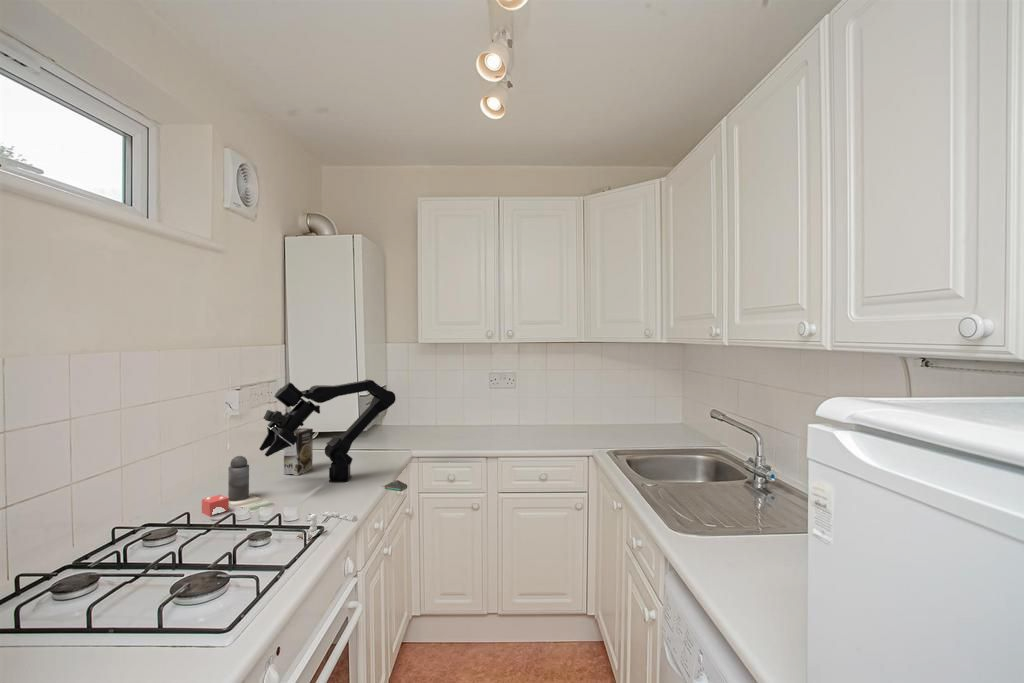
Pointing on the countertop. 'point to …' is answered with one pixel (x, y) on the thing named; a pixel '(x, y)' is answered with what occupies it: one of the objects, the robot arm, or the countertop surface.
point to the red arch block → (214, 504)
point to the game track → (252, 501)
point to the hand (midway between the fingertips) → (263, 452)
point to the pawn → (238, 479)
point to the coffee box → (299, 453)
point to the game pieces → (391, 486)
